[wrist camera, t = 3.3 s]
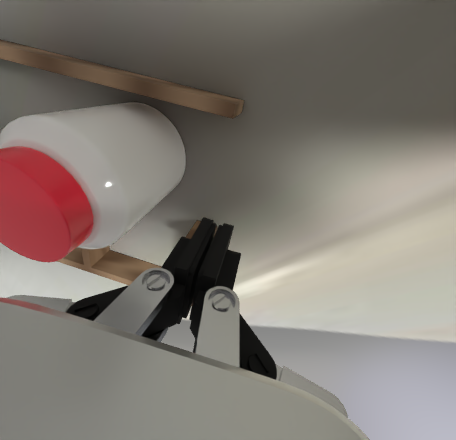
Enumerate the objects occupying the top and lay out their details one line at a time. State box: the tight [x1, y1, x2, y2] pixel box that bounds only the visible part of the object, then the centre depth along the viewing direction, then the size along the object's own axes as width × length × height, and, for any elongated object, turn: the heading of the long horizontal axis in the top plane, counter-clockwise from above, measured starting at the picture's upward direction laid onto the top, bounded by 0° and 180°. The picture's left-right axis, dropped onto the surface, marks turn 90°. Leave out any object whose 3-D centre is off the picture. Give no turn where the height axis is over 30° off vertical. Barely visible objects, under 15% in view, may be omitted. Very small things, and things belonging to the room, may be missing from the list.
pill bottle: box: [0, 102, 186, 262], centre depth 15 cm, size 8×8×11 cm
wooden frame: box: [0, 39, 244, 285], centre depth 21 cm, size 24×19×3 cm
